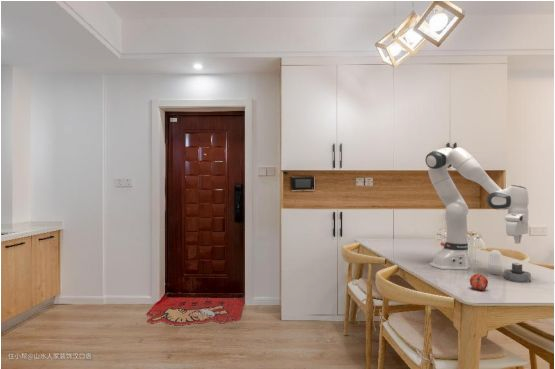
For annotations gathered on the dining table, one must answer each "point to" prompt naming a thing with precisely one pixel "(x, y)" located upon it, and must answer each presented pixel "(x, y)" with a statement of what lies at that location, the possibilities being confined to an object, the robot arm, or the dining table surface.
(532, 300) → the dining table surface
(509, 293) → the dining table surface
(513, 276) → the grey round ashtray
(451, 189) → the robot arm
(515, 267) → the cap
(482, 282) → the pomegranate
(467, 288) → the dining table surface
